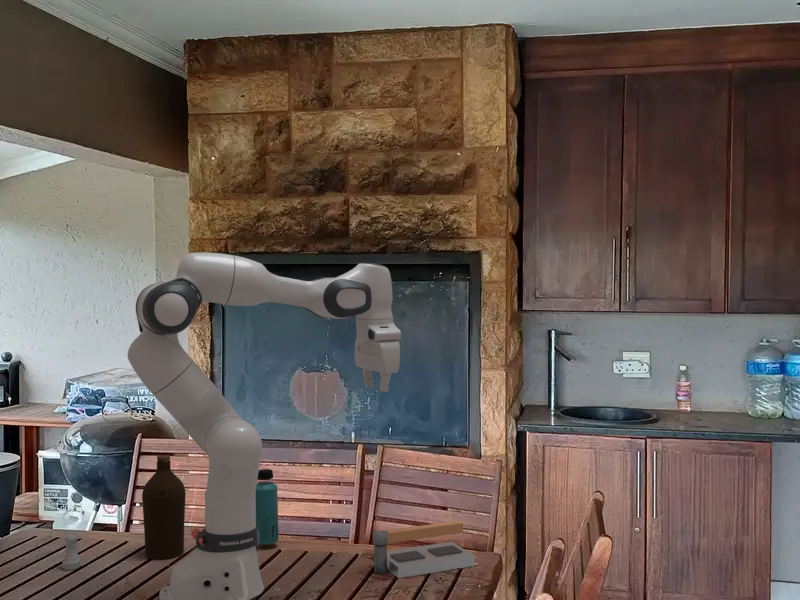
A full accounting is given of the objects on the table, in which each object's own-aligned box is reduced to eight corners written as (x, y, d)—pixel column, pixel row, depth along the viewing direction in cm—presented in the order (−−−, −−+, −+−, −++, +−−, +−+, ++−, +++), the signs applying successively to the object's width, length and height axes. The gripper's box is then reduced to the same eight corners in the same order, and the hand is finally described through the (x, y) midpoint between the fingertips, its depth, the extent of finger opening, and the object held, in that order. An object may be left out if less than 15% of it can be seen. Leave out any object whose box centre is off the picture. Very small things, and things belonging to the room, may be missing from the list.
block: (384, 580, 188) (384, 552, 188) (365, 564, 199) (365, 537, 199) (474, 565, 198) (474, 539, 198) (451, 551, 209) (451, 525, 209)
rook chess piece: (57, 568, 198) (57, 535, 198) (72, 563, 202) (72, 530, 202) (70, 571, 196) (70, 538, 196) (85, 566, 200) (85, 533, 200)
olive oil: (193, 554, 208) (192, 455, 208) (154, 563, 201) (153, 462, 201) (173, 544, 216) (172, 449, 216) (135, 553, 209) (134, 455, 208)
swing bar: (376, 546, 192) (376, 535, 192) (370, 541, 195) (370, 531, 195) (464, 533, 201) (464, 523, 201) (457, 529, 205) (457, 519, 205)
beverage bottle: (273, 551, 210) (273, 473, 210) (249, 549, 211) (248, 472, 211) (282, 543, 216) (281, 467, 216) (258, 541, 218) (258, 466, 217)
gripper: (347, 329, 203) (349, 385, 203) (378, 333, 184) (380, 395, 185) (371, 328, 206) (372, 383, 206) (404, 332, 187) (405, 392, 187)
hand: (376, 389), depth 195 cm, fingers open, 8 cm apart
